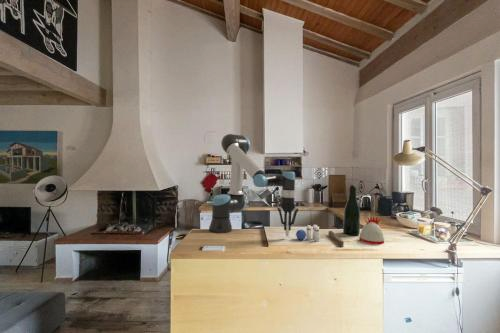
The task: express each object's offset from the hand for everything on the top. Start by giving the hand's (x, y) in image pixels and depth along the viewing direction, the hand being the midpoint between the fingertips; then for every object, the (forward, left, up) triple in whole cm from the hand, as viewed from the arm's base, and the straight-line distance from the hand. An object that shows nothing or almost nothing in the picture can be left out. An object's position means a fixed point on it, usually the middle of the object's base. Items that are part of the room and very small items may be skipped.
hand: (287, 235), depth 167 cm
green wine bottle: (+19, +45, -2) cm, 49 cm away
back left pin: (+10, +14, -2) cm, 18 cm away
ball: (+6, +6, +1) cm, 8 cm away
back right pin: (+14, +11, -2) cm, 18 cm away
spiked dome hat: (+35, +39, -2) cm, 52 cm away
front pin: (+9, +9, -2) cm, 13 cm away
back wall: (+21, +21, -2) cm, 29 cm away
